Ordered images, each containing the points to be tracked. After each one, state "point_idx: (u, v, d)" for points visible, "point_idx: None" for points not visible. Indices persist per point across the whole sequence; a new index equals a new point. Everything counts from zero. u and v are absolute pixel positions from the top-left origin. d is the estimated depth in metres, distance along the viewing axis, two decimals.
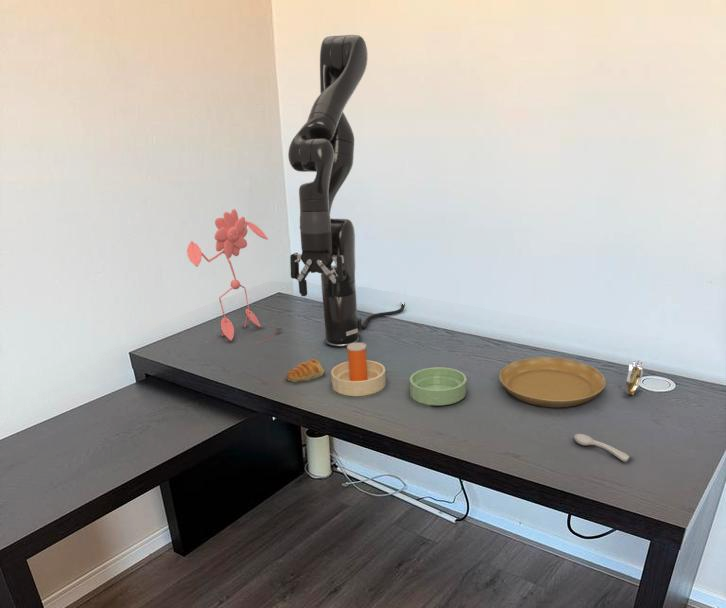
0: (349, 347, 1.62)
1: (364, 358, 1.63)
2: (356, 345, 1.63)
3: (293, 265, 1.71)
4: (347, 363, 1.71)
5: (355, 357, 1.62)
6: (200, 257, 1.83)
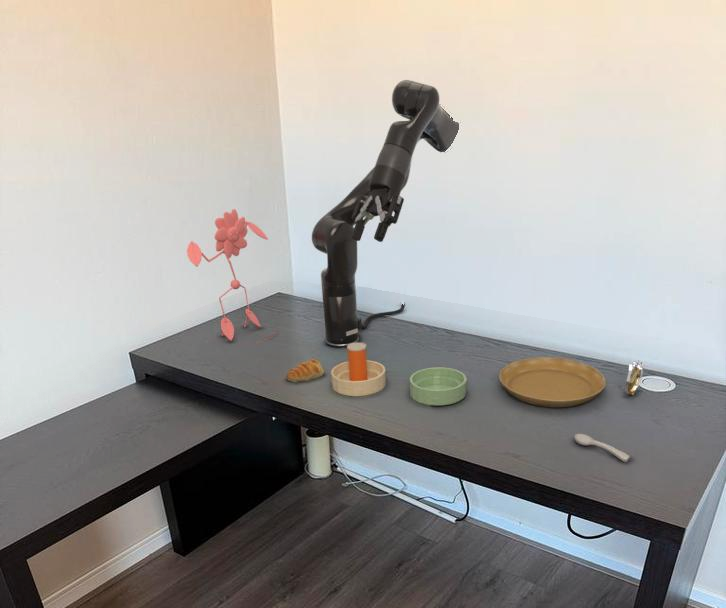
0: (349, 347, 1.62)
1: (364, 358, 1.63)
2: (356, 345, 1.63)
3: (358, 205, 1.61)
4: (347, 363, 1.71)
5: (355, 357, 1.62)
6: (200, 257, 1.83)
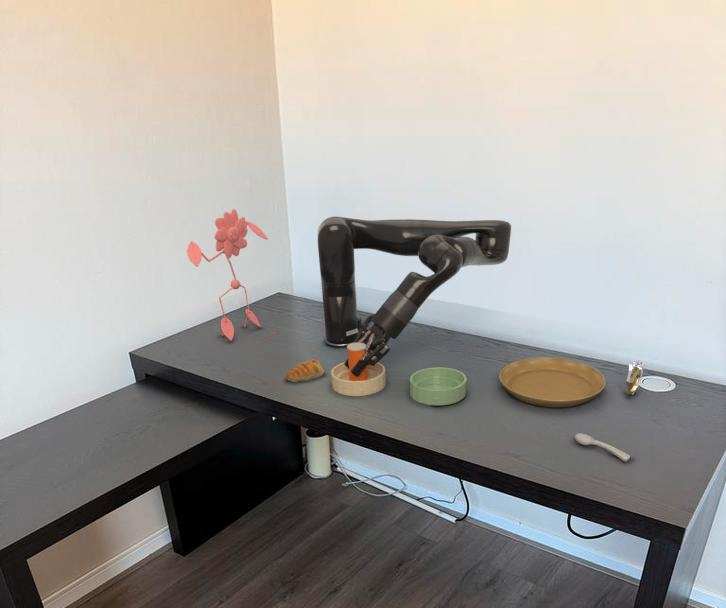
0: (349, 347, 1.62)
1: None
2: (356, 345, 1.63)
3: (359, 335, 1.67)
4: None
5: (355, 357, 1.62)
6: (200, 257, 1.83)
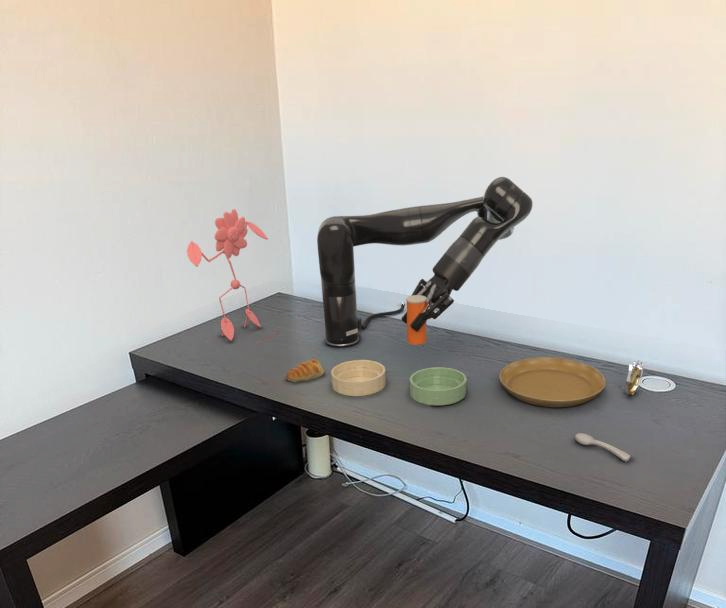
0: (408, 299, 1.51)
1: None
2: (416, 297, 1.52)
3: (417, 288, 1.56)
4: (347, 363, 1.71)
5: (415, 310, 1.51)
6: (200, 257, 1.83)
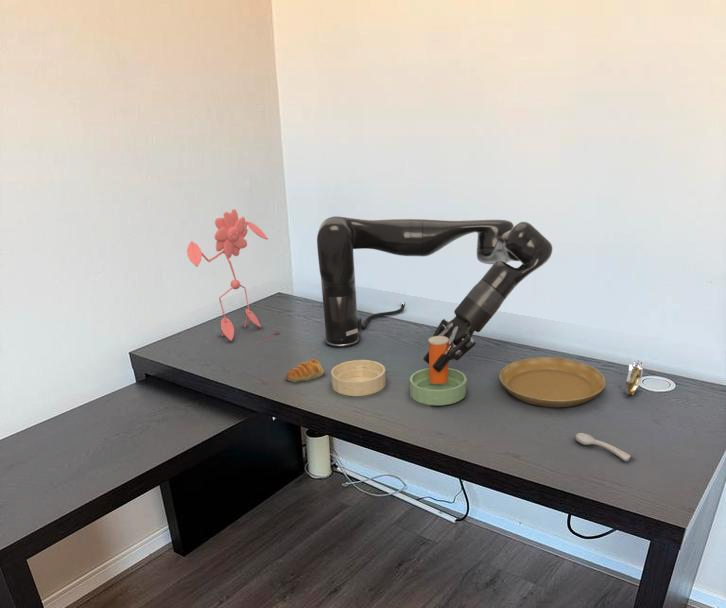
0: (431, 341, 1.54)
1: None
2: (438, 339, 1.55)
3: (439, 329, 1.59)
4: (347, 363, 1.71)
5: (437, 352, 1.54)
6: (200, 257, 1.83)
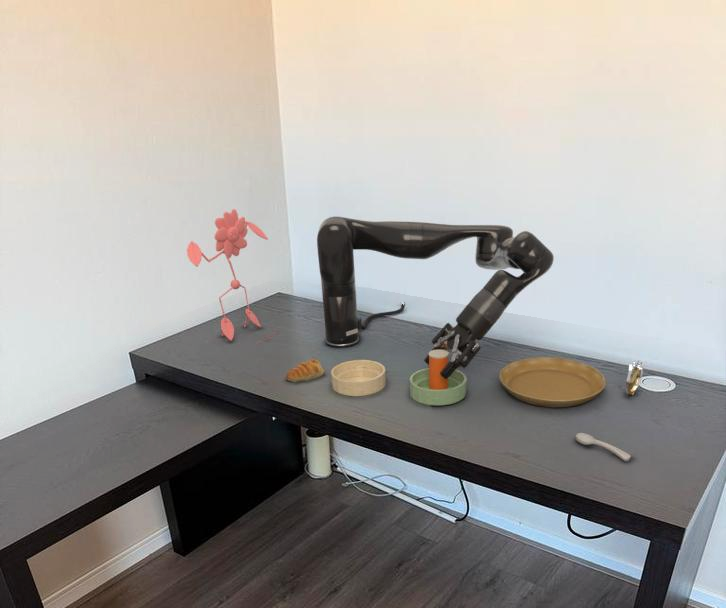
0: (431, 354, 1.56)
1: None
2: (438, 352, 1.57)
3: (441, 332, 1.61)
4: (347, 363, 1.71)
5: (437, 365, 1.56)
6: (200, 257, 1.83)
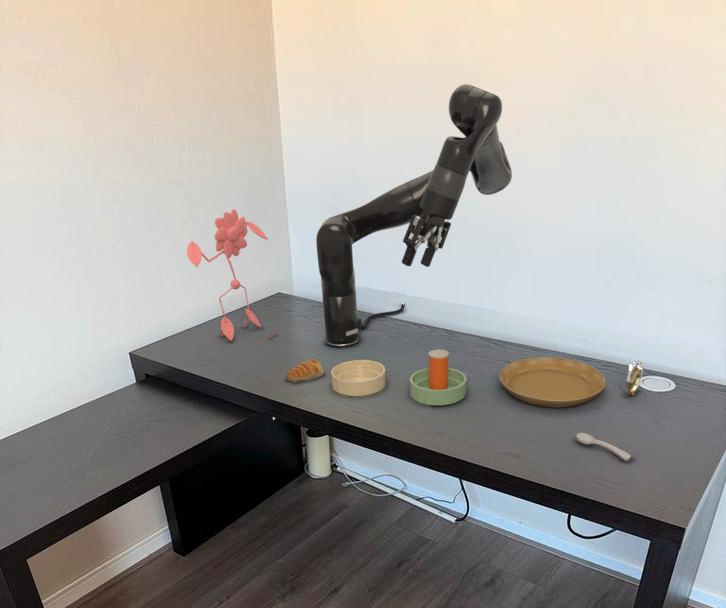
0: (431, 354, 1.56)
1: (446, 366, 1.57)
2: (438, 352, 1.57)
3: None
4: (347, 363, 1.71)
5: (437, 365, 1.56)
6: (200, 257, 1.83)
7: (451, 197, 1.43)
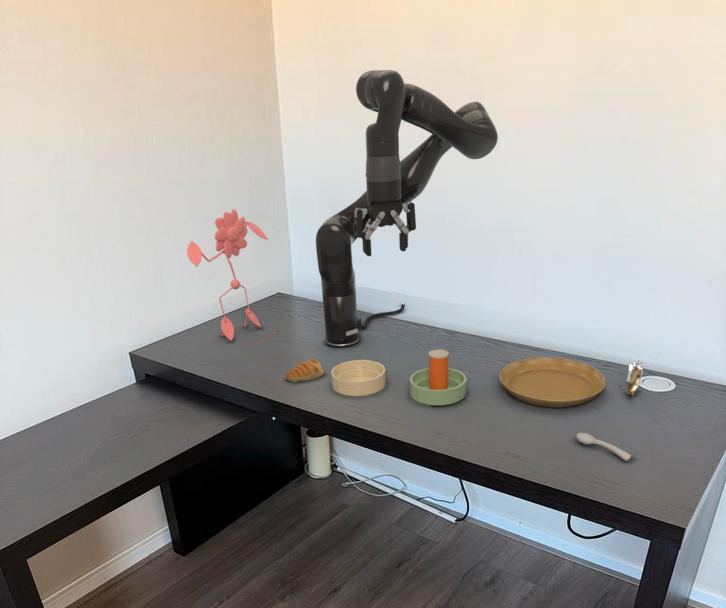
0: (431, 354, 1.56)
1: (446, 366, 1.57)
2: (438, 352, 1.57)
3: None
4: (347, 363, 1.71)
5: (437, 365, 1.56)
6: (200, 257, 1.83)
7: (380, 181, 1.46)
